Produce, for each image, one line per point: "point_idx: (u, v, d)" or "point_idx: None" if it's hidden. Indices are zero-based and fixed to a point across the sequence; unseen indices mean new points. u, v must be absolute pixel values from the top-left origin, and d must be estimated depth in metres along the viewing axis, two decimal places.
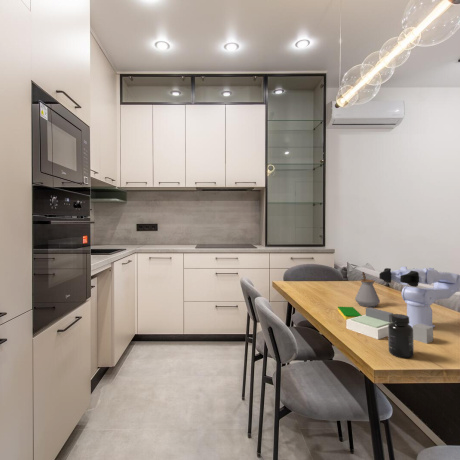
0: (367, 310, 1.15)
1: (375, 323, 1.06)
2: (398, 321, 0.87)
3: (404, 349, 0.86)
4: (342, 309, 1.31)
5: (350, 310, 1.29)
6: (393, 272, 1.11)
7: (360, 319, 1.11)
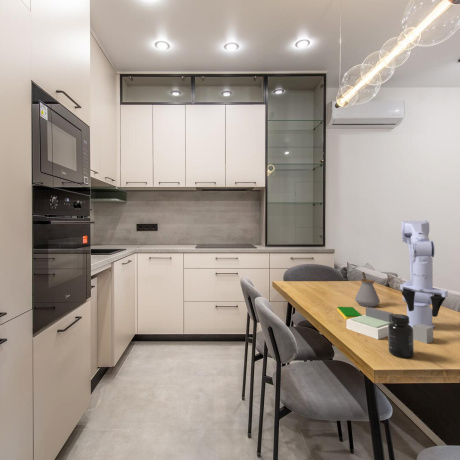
0: (367, 310, 1.15)
1: (375, 323, 1.06)
2: (398, 321, 0.87)
3: (404, 349, 0.86)
4: (342, 309, 1.31)
5: (350, 310, 1.29)
6: None
7: (360, 319, 1.11)
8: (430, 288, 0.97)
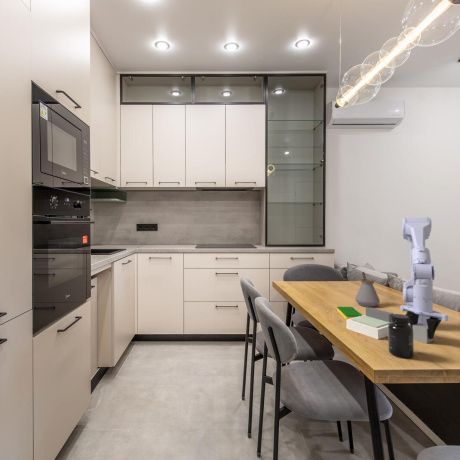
0: (367, 310, 1.15)
1: (375, 323, 1.06)
2: (398, 321, 0.87)
3: (404, 349, 0.86)
4: (342, 309, 1.31)
5: (350, 310, 1.29)
6: None
7: (360, 319, 1.11)
8: (430, 311, 0.97)
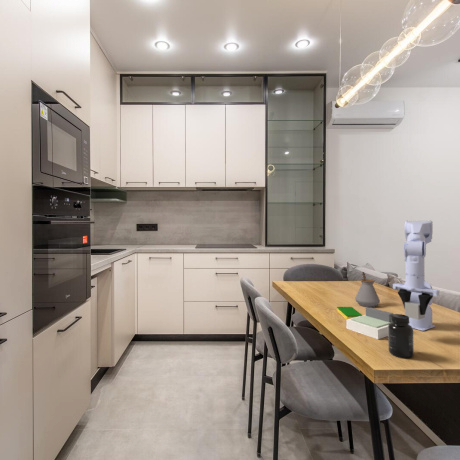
0: (367, 310, 1.15)
1: (375, 323, 1.06)
2: (398, 321, 0.87)
3: (404, 349, 0.86)
4: (342, 309, 1.31)
5: (350, 310, 1.29)
6: (402, 287, 1.03)
7: (360, 319, 1.11)
8: (422, 287, 0.98)
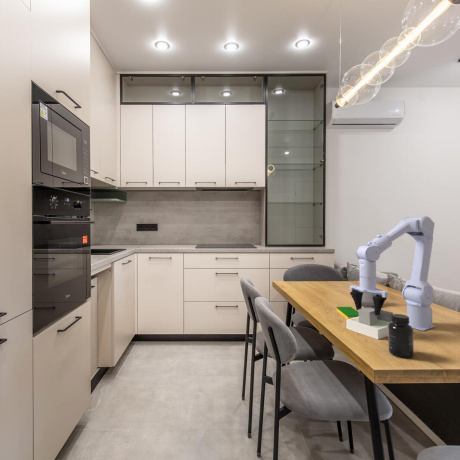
0: None
1: (375, 324, 1.06)
2: (398, 321, 0.87)
3: (404, 349, 0.86)
4: (342, 309, 1.31)
5: (350, 310, 1.29)
6: None
7: None
8: (373, 289, 1.05)
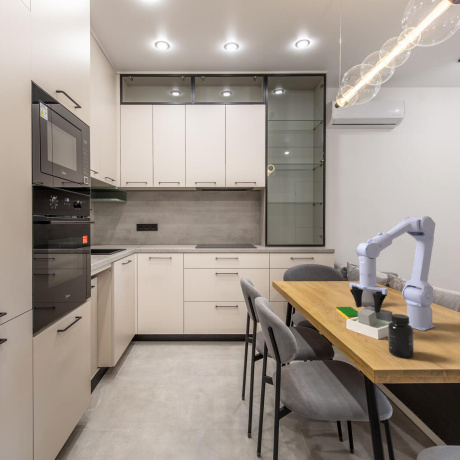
0: None
1: (375, 326, 1.06)
2: (398, 321, 0.87)
3: (404, 349, 0.86)
4: (342, 309, 1.31)
5: (350, 310, 1.29)
6: None
7: None
8: (373, 286, 1.05)
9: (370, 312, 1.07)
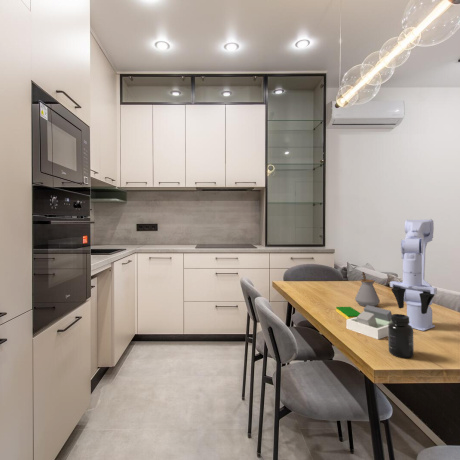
0: (365, 310, 1.14)
1: None
2: (398, 321, 0.87)
3: (404, 349, 0.86)
4: (342, 309, 1.31)
5: (350, 310, 1.30)
6: (399, 285, 1.02)
7: None
8: (419, 285, 0.97)
9: (369, 315, 1.06)
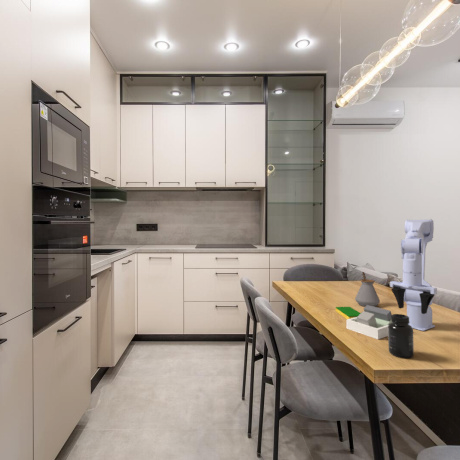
0: (365, 310, 1.14)
1: None
2: (398, 321, 0.87)
3: (404, 349, 0.86)
4: (342, 309, 1.31)
5: (350, 310, 1.30)
6: (399, 285, 1.02)
7: None
8: (419, 285, 0.97)
9: (369, 315, 1.06)
